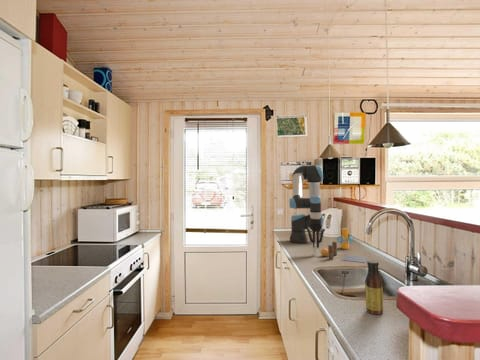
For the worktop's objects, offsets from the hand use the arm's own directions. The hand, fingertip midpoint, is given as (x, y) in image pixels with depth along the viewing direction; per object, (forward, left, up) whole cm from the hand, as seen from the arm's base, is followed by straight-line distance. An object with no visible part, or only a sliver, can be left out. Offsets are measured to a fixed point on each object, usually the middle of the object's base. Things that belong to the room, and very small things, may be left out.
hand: (316, 252), depth 216 cm
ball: (0, +6, +1) cm, 6 cm away
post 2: (-6, +11, -2) cm, 13 cm away
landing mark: (0, +25, -2) cm, 25 cm away
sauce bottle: (+83, +43, -2) cm, 93 cm away
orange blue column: (-31, +14, -2) cm, 34 cm away
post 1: (+6, +11, -2) cm, 13 cm away
